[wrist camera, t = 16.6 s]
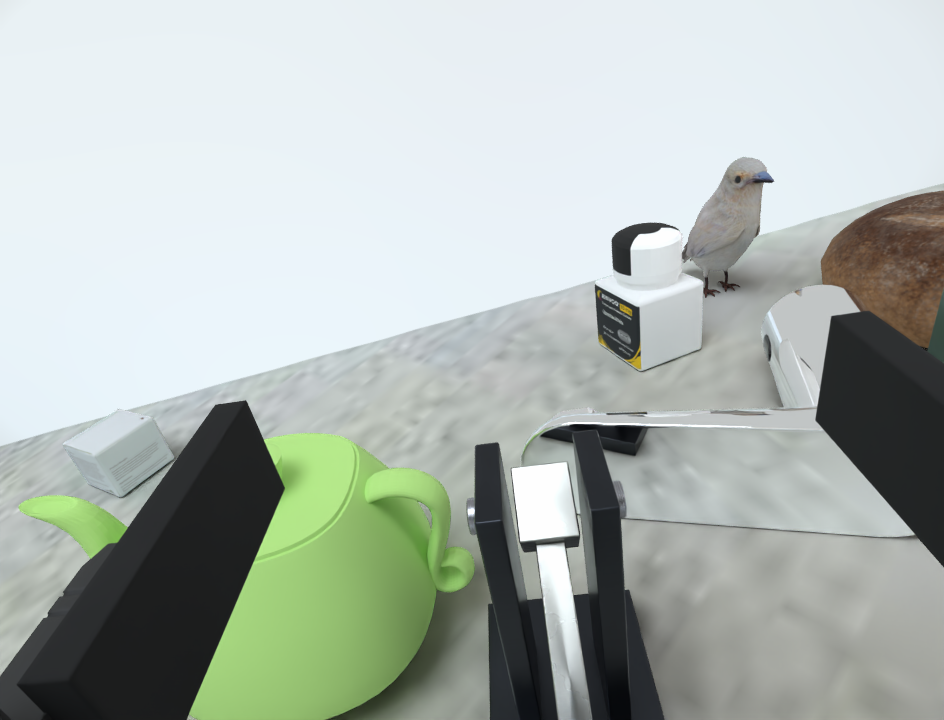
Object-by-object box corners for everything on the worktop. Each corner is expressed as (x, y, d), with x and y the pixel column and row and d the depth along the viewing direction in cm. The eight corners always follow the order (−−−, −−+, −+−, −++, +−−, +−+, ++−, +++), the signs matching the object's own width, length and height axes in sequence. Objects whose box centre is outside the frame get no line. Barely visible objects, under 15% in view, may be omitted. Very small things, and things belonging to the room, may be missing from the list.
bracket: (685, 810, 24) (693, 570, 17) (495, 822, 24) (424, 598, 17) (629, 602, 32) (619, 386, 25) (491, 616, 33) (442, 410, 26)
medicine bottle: (597, 344, 58) (589, 231, 53) (655, 323, 60) (654, 211, 54) (639, 373, 52) (636, 249, 47) (703, 349, 54) (707, 227, 48)
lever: (656, 886, 18) (675, 936, 15) (543, 892, 18) (538, 942, 15) (584, 479, 24) (586, 453, 21) (500, 489, 24) (490, 465, 21)
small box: (141, 447, 56) (118, 406, 53) (177, 458, 53) (154, 415, 51) (86, 485, 52) (57, 443, 49) (121, 499, 49) (93, 455, 47)
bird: (740, 319, 58) (751, 169, 51) (665, 278, 69) (665, 151, 62) (782, 306, 59) (798, 156, 51) (701, 268, 70) (705, 141, 63)
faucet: (878, 281, 44) (1001, 433, 28) (861, 368, 47) (961, 544, 32) (554, 295, 51) (512, 421, 36) (562, 369, 55) (527, 511, 40)
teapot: (60, 789, 29) (-112, 626, 22) (185, 555, 42) (99, 409, 35) (490, 742, 27) (437, 553, 21) (480, 514, 40) (446, 355, 34)
